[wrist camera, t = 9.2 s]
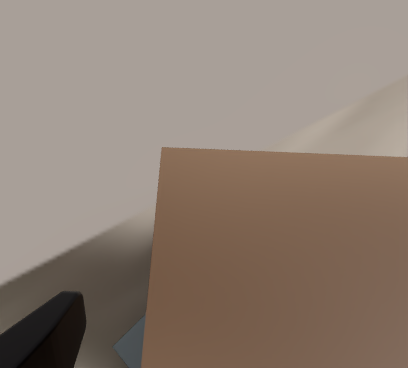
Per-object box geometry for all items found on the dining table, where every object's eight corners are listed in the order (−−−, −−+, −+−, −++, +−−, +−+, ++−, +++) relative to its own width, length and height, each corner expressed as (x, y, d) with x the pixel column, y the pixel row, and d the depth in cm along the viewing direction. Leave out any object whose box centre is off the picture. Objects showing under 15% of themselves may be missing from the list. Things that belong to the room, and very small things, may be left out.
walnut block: (298, 410, 14) (861, 838, 2) (178, 407, 13) (96, 831, 2) (289, 285, 16) (551, 163, 4) (184, 281, 16) (161, 147, 4)
